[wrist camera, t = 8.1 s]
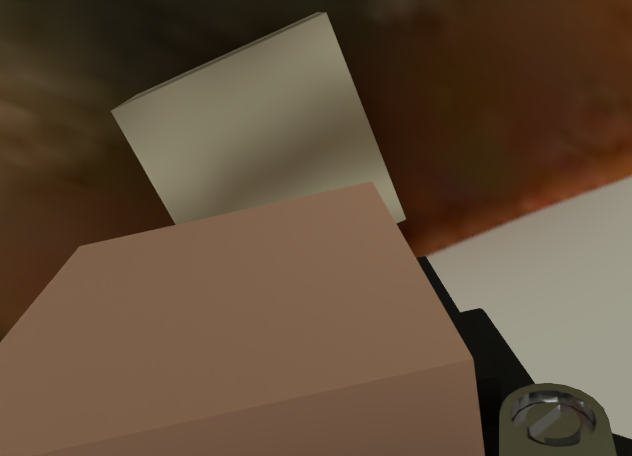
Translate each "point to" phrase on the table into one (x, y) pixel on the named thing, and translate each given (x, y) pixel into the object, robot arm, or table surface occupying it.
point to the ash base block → (257, 127)
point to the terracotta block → (243, 343)
